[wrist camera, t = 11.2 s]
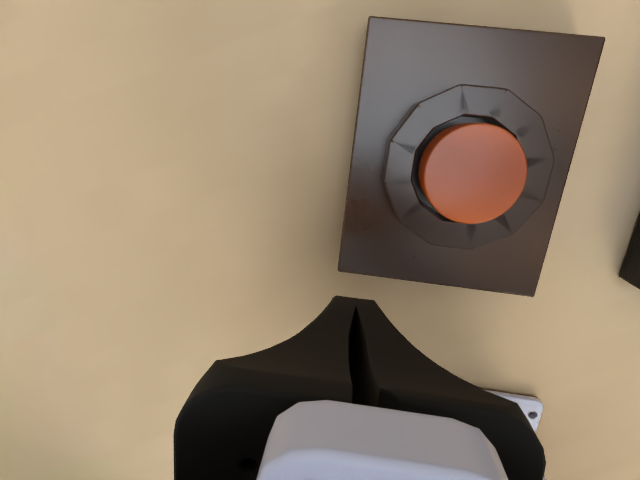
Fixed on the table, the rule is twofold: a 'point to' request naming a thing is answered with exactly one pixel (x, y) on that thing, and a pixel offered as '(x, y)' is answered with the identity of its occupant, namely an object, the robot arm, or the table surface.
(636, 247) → the panel
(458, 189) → the button
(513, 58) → the button box
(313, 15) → the table surface
